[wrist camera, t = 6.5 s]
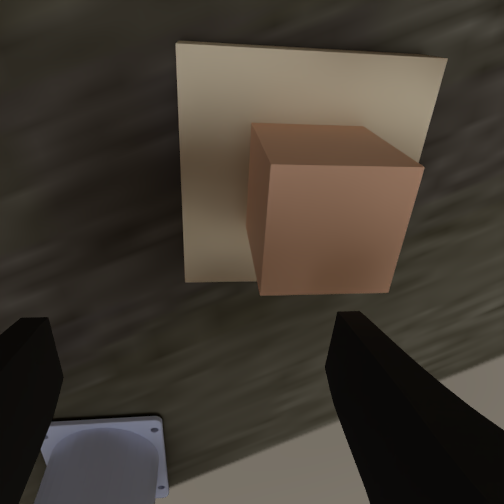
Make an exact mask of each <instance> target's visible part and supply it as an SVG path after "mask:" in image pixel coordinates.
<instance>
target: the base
mask: <svg viewBox="0 0 504 504" xmlns="http://www.w3.org/2000/svg"><path fill="white" fill-rule="evenodd" d="M447 60H448V59H447V58H441V57H435V56H429V55H423V54H407V53H390V52H372V51H354V50H337V49H319V48H302V47H284V46H266V45H249V44H231V43H214V42H196V41H178V42H176V66H177V91H178V116H179V141H180V165H181V190H182V215H183V240H184V264H185V282H239V281H257V278H256V273H255V269H254V264H253V259H252V254H251V249H250V244H249V240H248V235H247V230H246V215H247V196H248V177H249V158H250V139H251V123H277V124H309V125H340V126H364V127H365V128H367V129H368V130H370V131H371V132H373V133H374V134H376V135H377V136H379V137H380V138H382V139H383V140H385V141H386V142H388V143H389V144H391V145H392V146H394V147H395V148H397V149H398V150H400V151H401V152H403V153H404V154H406V155H407V156H409V157H410V158H412V159H413V160H415V161H416V162H418V163H419V159H420V156H421V152H422V148H423V145H424V141H425V138H426V134H427V131H428V127H429V124H430V120H431V116H432V113H433V109H434V106H435V102H436V99H437V95H438V92H439V88H440V84H441V81H442V77H443V74H444V70H445V67H446V63H447Z"/></svg>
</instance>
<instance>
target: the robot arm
mask: <svg viewBox="0 0 504 504" xmlns="http://www.w3.org/2000/svg"><path fill="white" fill-rule="evenodd" d="M325 370H326V374H327V379H328V383H329V387H330V391H331V395H332V399H333V403H334V406H335V409H336V412H337V414H338V417H339V420H340V423H341V425H342V428H343V431H344V433H345V436H346V439H347V441H348V444H349V447H350V449H351V452H352V455H353V457H354V460H355V463H356V465H357V468H358V471H359V473H360V476H361V478H362V481H363V484H364V487H365V489H366V492H367V495H368V498H369V501H370V504H504V430H503V429H501V428H500V427H498V426H497V425H496V424H494V423H493V422H491V421H490V420H488V419H487V418H485V417H484V416H483V415H481V414H480V413H478V412H477V411H476V410H474V409H473V408H472V407H470V406H469V405H468V404H466V403H465V402H464V401H463V400H461V399H460V398H459V397H458V396H456V395H455V394H454V393H453V392H451V391H450V390H449V389H448V388H446V387H445V386H444V385H443V384H441V383H440V382H439V381H438V380H437V379H435V378H434V377H433V376H432V375H431V374H429V373H428V372H427V371H426V370H425V369H423V368H422V367H421V366H420V365H419V364H418V363H417V362H415V361H414V360H413V359H412V358H411V357H410V356H409V355H407V354H406V353H405V352H404V351H403V350H402V349H401V348H400V347H399V346H397V345H396V344H395V343H394V342H393V341H392V340H391V339H390V338H389V337H388V336H387V335H385V334H384V333H383V332H382V331H381V330H380V329H379V328H378V327H377V326H376V325H375V324H374V323H372V322H371V321H370V320H369V319H368V318H367V317H366V316H365V315H363V314H362V313H361V312H360V311H348V312H337V316H336V321H335V325H334V329H333V334H332V338H331V343H330V347H329V351H328V356H327V360H326V365H325ZM63 378H64V377H63V373H62V369H61V365H60V361H59V357H58V353H57V350H56V346H55V342H54V338H53V334H52V330H51V326H50V322H49V318H48V317H40V318H20V319H19V320H18V321H17V322H15V323H14V324H13V325H12V326H10V327H9V328H8V329H7V330H6V331H4V332H3V333H2V334H1V335H0V504H19V501H20V499H21V496H22V494H23V491H24V489H25V486H26V484H27V481H28V479H29V476H30V474H31V471H32V469H33V467H34V464H35V462H36V459H37V457H38V454H39V452H40V449H41V452H42V455H43V457H44V460H45V463H46V465H47V467H46V470H45V473H44V476H43V479H42V481H41V484H40V487H39V490H38V493H37V496H36V499H35V502H34V504H155V498H164V497H166V496H168V494H169V484H168V474H167V464H166V454H165V444H164V434H163V424H162V419H161V418H160V417H158V416H142V417H125V418H107V419H90V420H73V421H56V422H51V421H52V419H53V416H54V412H55V408H56V405H57V401H58V397H59V394H60V390H61V386H62V382H63Z"/></svg>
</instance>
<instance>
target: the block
mask: <svg viewBox="0 0 504 504" xmlns="http://www.w3.org/2000/svg"><path fill="white" fill-rule="evenodd" d="M424 168H425V167H424V166H422V165H421V164H419V163H418V162H416V161H415V160H413V159H412V158H410V157H409V156H407V155H406V154H404V153H403V152H401V151H400V150H398V149H397V148H395V147H394V146H392V145H391V144H389V143H388V142H386V141H385V140H383V139H382V138H380V137H379V136H377V135H376V134H374V133H373V132H371V131H370V130H368V129H367V128H365V127H364V126H340V125H309V124H277V123H251V139H250V158H249V177H248V196H247V215H246V230H247V235H248V240H249V244H250V249H251V254H252V259H253V264H254V269H255V273H256V278H257V283H258V288H259V293H260V296H267V295H311V294H355V293H388V292H389V288H390V285H391V281H392V278H393V275H394V271H395V268H396V264H397V261H398V257H399V254H400V250H401V247H402V244H403V240H404V237H405V233H406V230H407V226H408V223H409V220H410V216H411V213H412V209H413V206H414V202H415V199H416V196H417V192H418V189H419V185H420V182H421V178H422V175H423V172H424Z"/></svg>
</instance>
